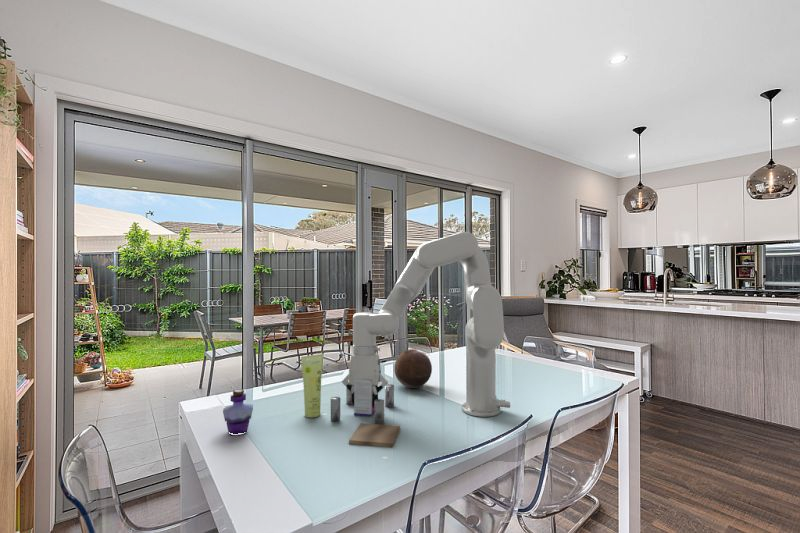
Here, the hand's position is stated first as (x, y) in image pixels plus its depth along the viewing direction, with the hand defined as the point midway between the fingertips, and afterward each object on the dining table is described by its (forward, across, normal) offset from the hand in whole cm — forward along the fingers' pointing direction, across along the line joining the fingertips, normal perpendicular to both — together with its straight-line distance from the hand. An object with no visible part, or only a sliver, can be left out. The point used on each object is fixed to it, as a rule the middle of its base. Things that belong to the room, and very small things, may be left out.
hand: (364, 404), depth 130 cm
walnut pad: (+3, -8, +17) cm, 19 cm away
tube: (+3, +16, +5) cm, 17 cm away
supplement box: (+3, 0, 0) cm, 3 cm away
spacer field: (+3, 0, 0) cm, 3 cm away
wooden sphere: (+3, -12, -31) cm, 33 cm away
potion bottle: (+3, +32, +21) cm, 39 cm away
